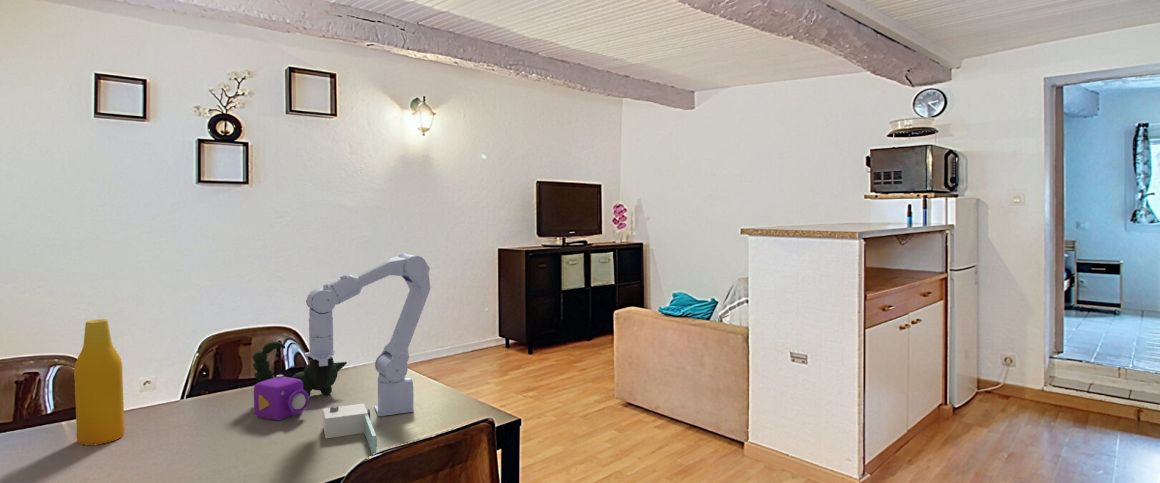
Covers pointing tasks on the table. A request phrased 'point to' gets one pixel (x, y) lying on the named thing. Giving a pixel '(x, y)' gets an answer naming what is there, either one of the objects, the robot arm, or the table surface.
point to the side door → (370, 434)
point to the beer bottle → (98, 387)
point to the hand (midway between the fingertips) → (322, 386)
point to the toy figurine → (306, 376)
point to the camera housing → (344, 420)
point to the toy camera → (279, 398)
